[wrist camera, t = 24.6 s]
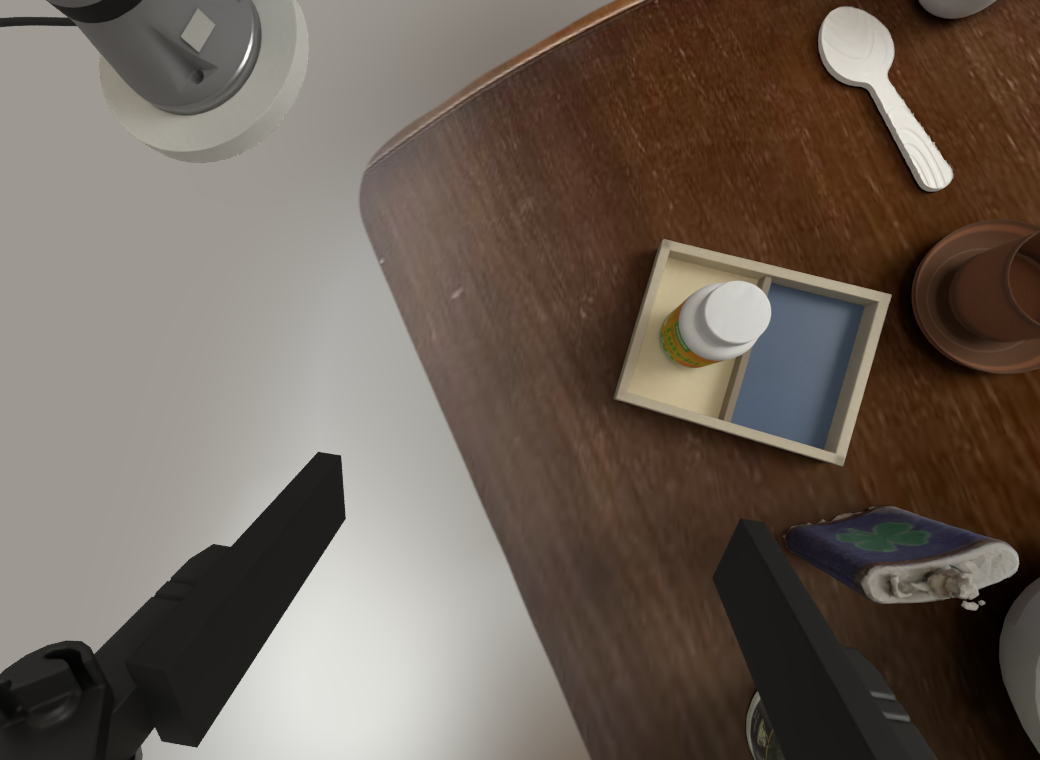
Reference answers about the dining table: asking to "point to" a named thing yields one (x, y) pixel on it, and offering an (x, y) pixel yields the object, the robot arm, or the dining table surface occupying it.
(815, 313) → the sorting tray
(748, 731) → the coffee can
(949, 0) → the cup
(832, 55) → the spoon
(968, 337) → the cup and saucer
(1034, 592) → the bowl
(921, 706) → the dining table surface
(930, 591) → the flask
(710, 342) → the supplement bottle
